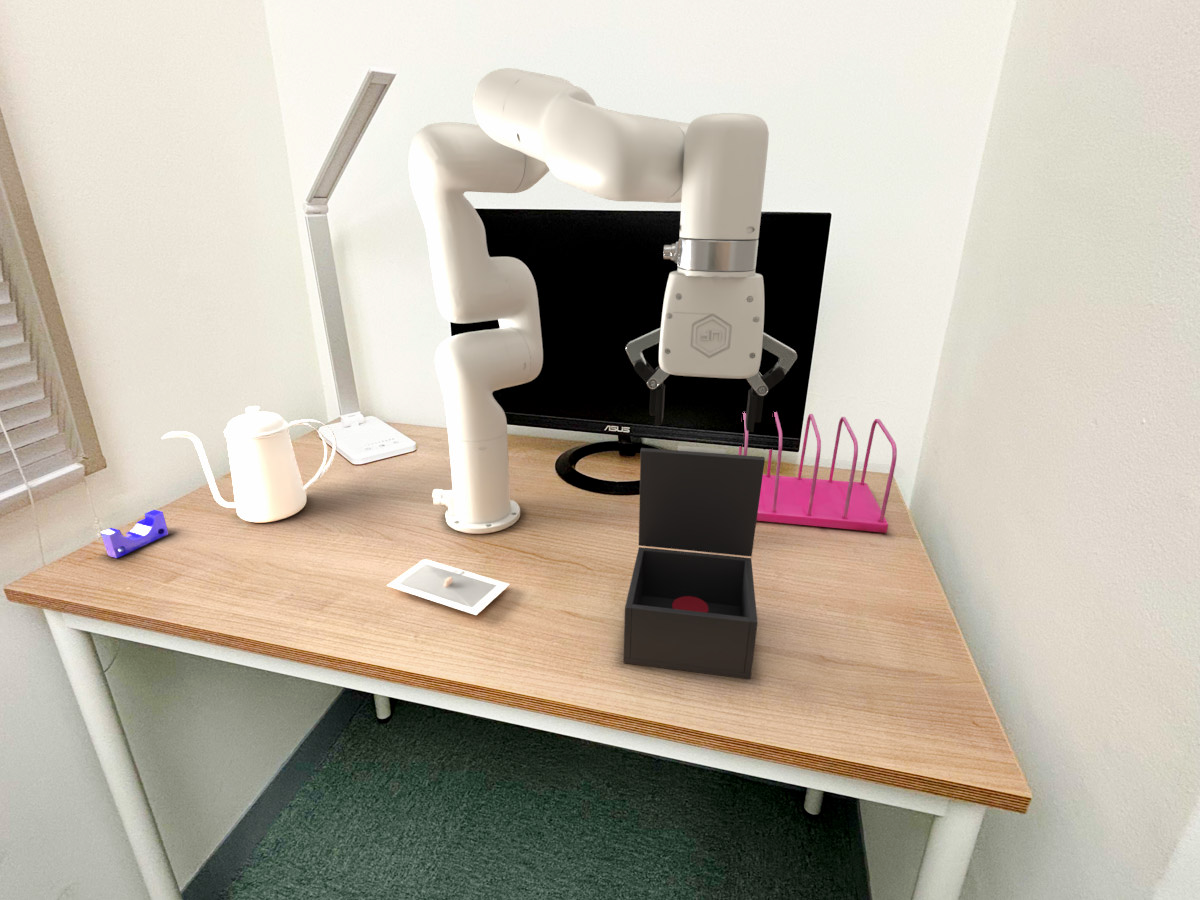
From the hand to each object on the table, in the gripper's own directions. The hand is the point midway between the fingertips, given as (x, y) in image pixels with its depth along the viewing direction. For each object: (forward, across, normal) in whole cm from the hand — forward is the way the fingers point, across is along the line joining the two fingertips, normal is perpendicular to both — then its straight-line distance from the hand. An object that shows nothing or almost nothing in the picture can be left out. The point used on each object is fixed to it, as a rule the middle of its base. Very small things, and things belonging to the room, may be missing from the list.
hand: (703, 424), depth 66 cm
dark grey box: (+28, 0, +1) cm, 28 cm away
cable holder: (+28, -86, +7) cm, 91 cm away
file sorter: (+28, +19, +42) cm, 54 cm away
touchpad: (+28, -33, +4) cm, 44 cm away
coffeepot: (+28, -73, +21) cm, 81 cm away
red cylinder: (+27, 0, 0) cm, 27 cm away
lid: (+13, 0, +6) cm, 14 cm away
